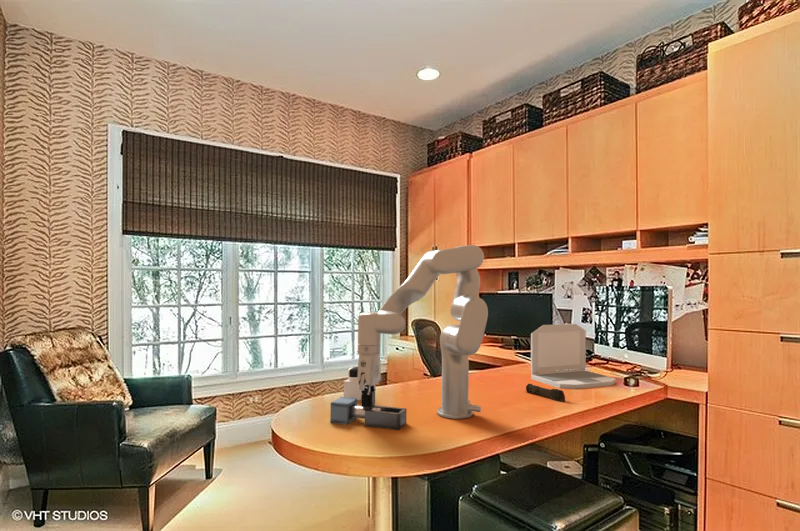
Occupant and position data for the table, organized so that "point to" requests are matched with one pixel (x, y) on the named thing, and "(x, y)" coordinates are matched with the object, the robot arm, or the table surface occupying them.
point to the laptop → (563, 358)
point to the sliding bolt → (363, 408)
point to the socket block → (342, 410)
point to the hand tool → (546, 392)
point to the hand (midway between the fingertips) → (368, 404)
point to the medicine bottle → (352, 384)
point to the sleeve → (386, 418)
